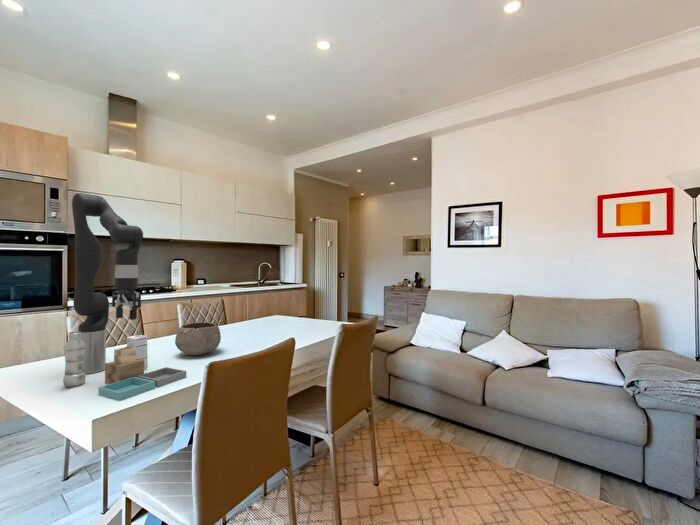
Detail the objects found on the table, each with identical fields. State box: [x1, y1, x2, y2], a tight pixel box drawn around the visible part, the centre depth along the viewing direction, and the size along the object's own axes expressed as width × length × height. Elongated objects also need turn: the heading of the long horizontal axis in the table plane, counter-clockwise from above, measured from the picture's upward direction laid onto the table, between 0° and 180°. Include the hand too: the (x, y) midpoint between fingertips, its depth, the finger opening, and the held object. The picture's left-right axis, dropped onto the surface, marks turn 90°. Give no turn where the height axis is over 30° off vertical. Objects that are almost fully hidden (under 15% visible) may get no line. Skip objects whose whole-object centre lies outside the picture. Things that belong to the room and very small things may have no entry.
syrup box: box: [126, 334, 149, 370], centre depth 142 cm, size 6×6×14 cm
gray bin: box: [137, 366, 187, 388], centre depth 127 cm, size 12×12×3 cm
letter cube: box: [113, 346, 136, 364], centre depth 126 cm, size 5×5×5 cm
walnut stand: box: [104, 359, 145, 385], centre depth 126 cm, size 9×9×8 cm
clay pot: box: [174, 322, 222, 356], centre depth 167 cm, size 21×21×15 cm
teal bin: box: [97, 377, 156, 402], centre depth 116 cm, size 12×12×3 cm
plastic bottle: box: [62, 331, 86, 388], centre depth 123 cm, size 6×7×20 cm
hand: (126, 318), depth 127 cm, fingers open, 8 cm apart
